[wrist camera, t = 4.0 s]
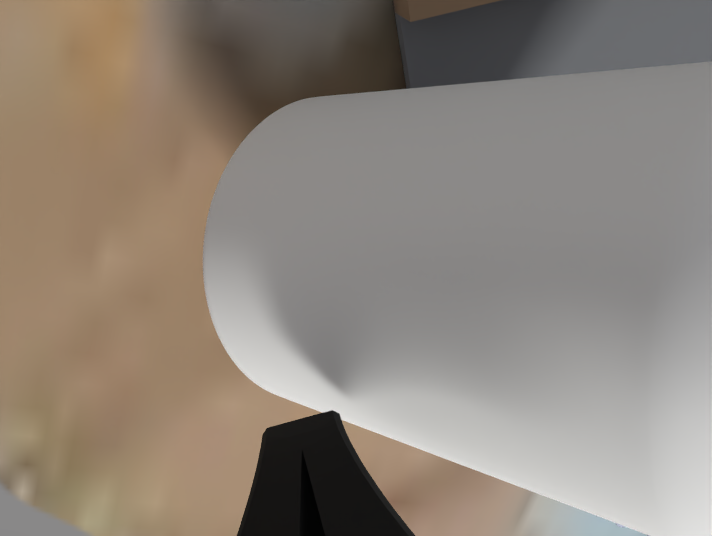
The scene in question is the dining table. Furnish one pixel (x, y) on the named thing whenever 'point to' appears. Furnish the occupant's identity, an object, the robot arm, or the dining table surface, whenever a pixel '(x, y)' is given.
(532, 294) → the beverage can
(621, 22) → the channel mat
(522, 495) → the dining table surface
